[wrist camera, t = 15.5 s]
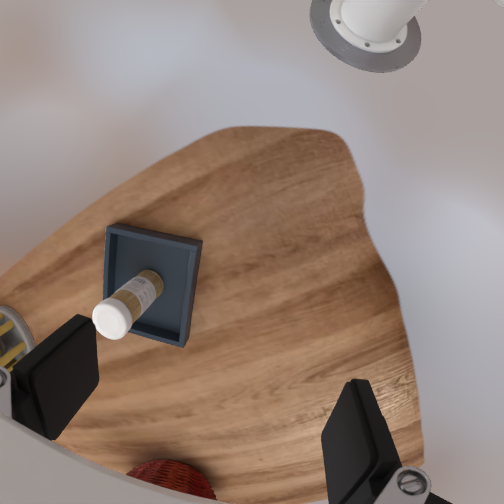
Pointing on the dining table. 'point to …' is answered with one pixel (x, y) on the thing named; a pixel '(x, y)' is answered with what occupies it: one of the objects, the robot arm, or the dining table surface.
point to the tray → (166, 265)
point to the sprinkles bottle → (127, 304)
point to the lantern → (13, 338)
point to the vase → (174, 477)
